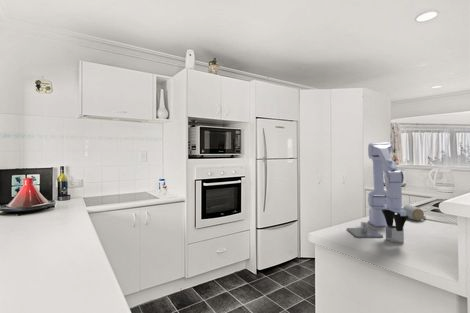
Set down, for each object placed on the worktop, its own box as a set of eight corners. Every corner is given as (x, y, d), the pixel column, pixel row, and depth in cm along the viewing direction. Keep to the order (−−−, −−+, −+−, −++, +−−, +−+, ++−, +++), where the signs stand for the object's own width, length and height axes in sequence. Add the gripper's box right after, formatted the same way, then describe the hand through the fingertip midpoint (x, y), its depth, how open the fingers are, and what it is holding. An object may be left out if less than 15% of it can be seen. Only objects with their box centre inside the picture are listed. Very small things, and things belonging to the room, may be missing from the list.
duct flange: (346, 229, 131) (346, 219, 131) (371, 229, 130) (370, 219, 130) (356, 237, 119) (356, 226, 119) (383, 237, 118) (382, 226, 118)
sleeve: (385, 238, 117) (385, 225, 116) (397, 238, 116) (397, 225, 116) (391, 242, 112) (391, 229, 111) (403, 242, 111) (403, 228, 111)
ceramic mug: (413, 221, 141) (413, 207, 141) (401, 217, 149) (401, 204, 149) (430, 220, 143) (430, 206, 142) (417, 216, 151) (417, 203, 150)
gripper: (376, 195, 121) (377, 223, 121) (393, 201, 106) (394, 233, 107) (392, 194, 120) (392, 223, 121) (411, 200, 106) (411, 233, 106)
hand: (394, 228), depth 114 cm, fingers open, 7 cm apart
